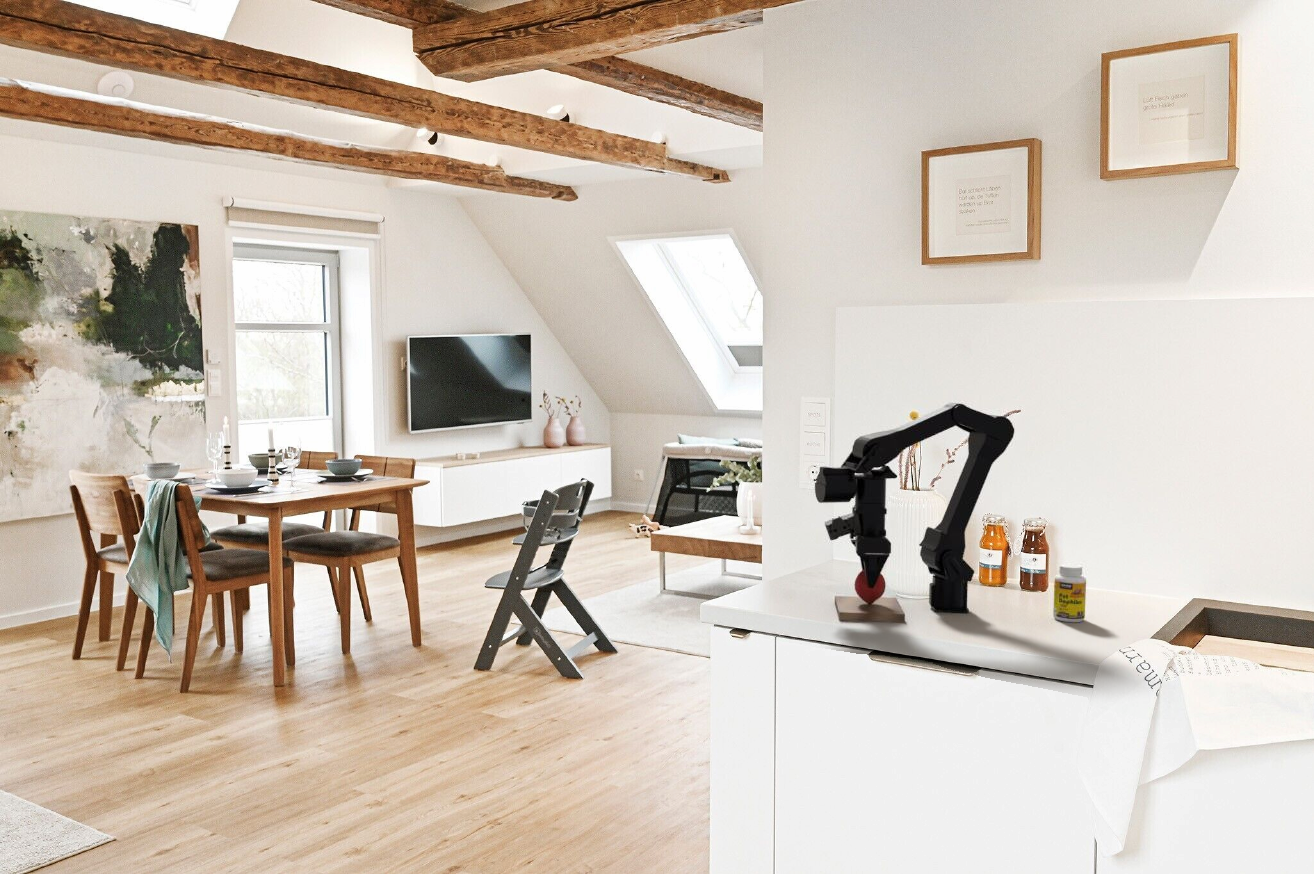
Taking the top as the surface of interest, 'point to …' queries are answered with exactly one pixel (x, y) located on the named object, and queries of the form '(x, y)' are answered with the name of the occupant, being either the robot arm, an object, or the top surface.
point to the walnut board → (869, 609)
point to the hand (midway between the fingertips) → (868, 582)
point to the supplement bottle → (1069, 594)
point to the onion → (869, 593)
